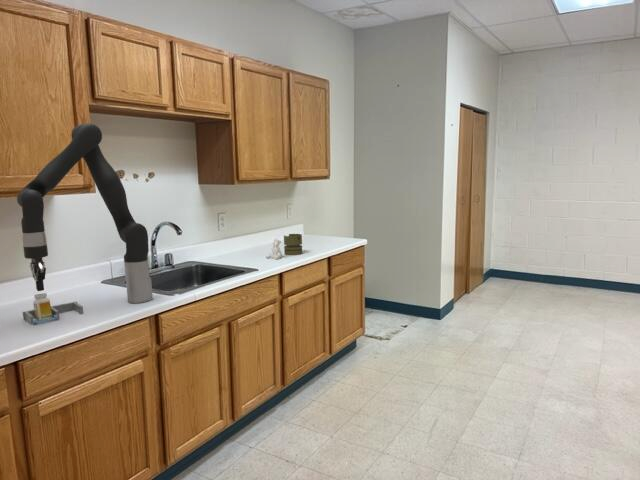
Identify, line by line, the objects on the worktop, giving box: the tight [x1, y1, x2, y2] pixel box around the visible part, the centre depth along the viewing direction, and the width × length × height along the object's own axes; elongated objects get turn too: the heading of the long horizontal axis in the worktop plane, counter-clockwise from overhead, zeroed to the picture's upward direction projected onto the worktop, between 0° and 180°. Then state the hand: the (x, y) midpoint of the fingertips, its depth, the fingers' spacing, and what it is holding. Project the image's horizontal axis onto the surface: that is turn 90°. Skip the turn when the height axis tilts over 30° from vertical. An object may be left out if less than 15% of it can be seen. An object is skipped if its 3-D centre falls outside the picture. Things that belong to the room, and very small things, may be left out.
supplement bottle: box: [32, 292, 53, 321], centre depth 179 cm, size 5×5×10 cm
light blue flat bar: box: [32, 315, 60, 326], centre depth 178 cm, size 8×1×2 cm, turn 133°
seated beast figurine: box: [265, 238, 283, 261], centre depth 289 cm, size 10×9×12 cm
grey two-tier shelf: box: [22, 301, 84, 326], centre depth 184 cm, size 19×10×3 cm, turn 133°
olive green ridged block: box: [283, 233, 303, 256], centre depth 303 cm, size 11×12×11 cm
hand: (40, 290), depth 178 cm, fingers closed
